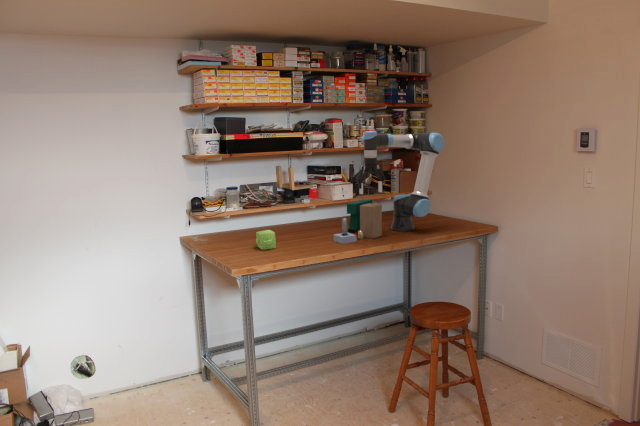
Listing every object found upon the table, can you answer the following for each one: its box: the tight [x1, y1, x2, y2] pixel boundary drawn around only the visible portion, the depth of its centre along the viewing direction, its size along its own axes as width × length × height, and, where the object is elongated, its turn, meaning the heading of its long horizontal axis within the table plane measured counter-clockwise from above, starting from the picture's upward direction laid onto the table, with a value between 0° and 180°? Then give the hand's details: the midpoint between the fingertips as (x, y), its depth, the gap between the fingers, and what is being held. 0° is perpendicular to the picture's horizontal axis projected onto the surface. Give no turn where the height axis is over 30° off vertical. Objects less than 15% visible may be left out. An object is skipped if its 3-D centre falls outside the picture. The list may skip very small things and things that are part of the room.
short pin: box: [357, 230, 364, 240], centre depth 318 cm, size 3×3×5 cm
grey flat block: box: [332, 232, 357, 245], centre depth 312 cm, size 10×10×4 cm
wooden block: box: [360, 203, 383, 239], centre depth 323 cm, size 10×10×20 cm
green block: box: [255, 229, 277, 251], centre depth 300 cm, size 18×10×10 cm, turn 23°
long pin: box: [341, 217, 348, 236], centre depth 311 cm, size 3×3×14 cm
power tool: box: [346, 198, 376, 236], centre depth 341 cm, size 32×7×20 cm, turn 146°
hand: (370, 193), depth 309 cm, fingers open, 13 cm apart
